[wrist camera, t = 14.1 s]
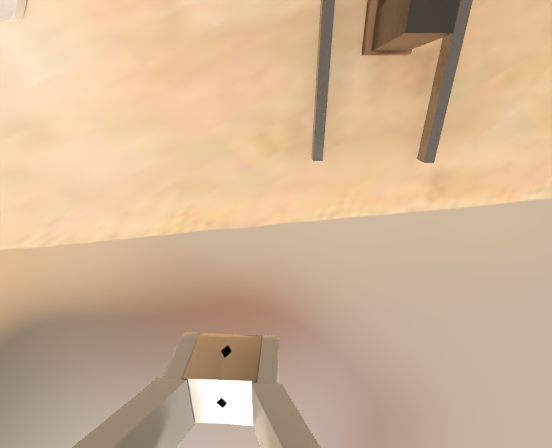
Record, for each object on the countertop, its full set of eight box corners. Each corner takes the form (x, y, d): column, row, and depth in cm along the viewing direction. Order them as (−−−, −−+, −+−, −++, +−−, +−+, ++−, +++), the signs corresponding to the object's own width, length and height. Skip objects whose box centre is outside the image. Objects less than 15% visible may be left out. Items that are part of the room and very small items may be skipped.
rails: (311, 157, 37) (312, 160, 35) (332, -189, 25) (335, -212, 23) (426, 159, 37) (433, 162, 35) (506, -194, 24) (524, -218, 22)
